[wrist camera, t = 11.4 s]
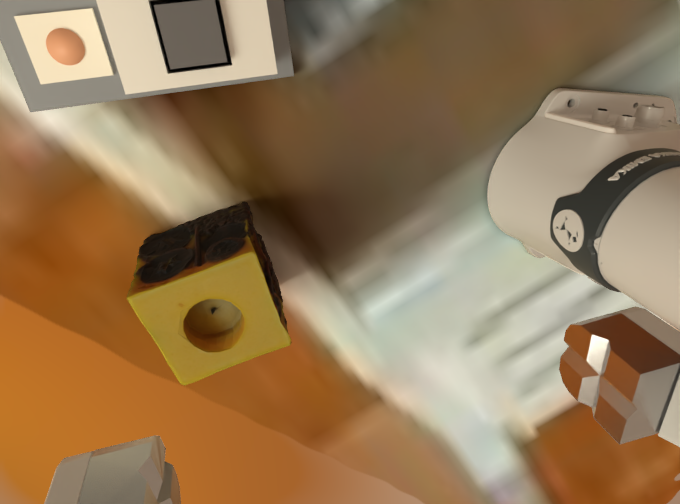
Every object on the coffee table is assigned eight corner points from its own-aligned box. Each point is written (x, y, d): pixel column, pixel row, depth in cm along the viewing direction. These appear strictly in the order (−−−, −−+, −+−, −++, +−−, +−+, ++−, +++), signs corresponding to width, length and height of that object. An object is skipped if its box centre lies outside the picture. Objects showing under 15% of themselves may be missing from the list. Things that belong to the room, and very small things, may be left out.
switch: (213, 1, 33) (214, -2, 28) (224, 55, 34) (227, 61, 29) (162, 7, 32) (153, 5, 27) (176, 61, 34) (170, 69, 29)
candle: (246, 199, 42) (256, 245, 33) (281, 284, 47) (297, 344, 38) (139, 236, 41) (121, 294, 32) (187, 319, 46) (182, 389, 37)
